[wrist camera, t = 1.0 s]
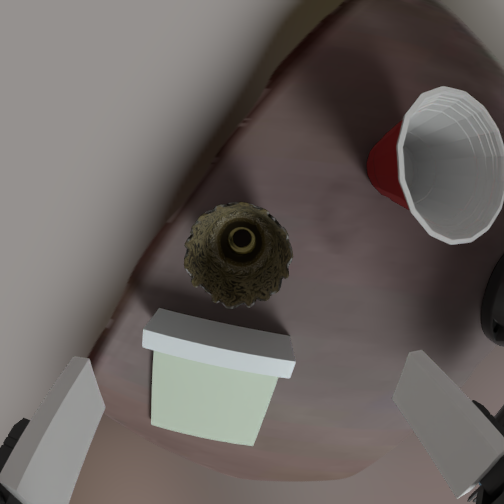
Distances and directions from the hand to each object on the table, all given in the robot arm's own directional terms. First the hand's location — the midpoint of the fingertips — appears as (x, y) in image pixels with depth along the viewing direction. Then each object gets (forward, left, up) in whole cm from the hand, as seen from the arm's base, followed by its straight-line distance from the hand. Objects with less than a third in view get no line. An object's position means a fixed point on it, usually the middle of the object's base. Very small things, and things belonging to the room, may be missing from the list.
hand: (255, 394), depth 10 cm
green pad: (+2, +17, -18) cm, 25 cm away
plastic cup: (-11, -13, -18) cm, 25 cm away
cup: (+2, -3, -18) cm, 19 cm away
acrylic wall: (+2, +7, -18) cm, 20 cm away
